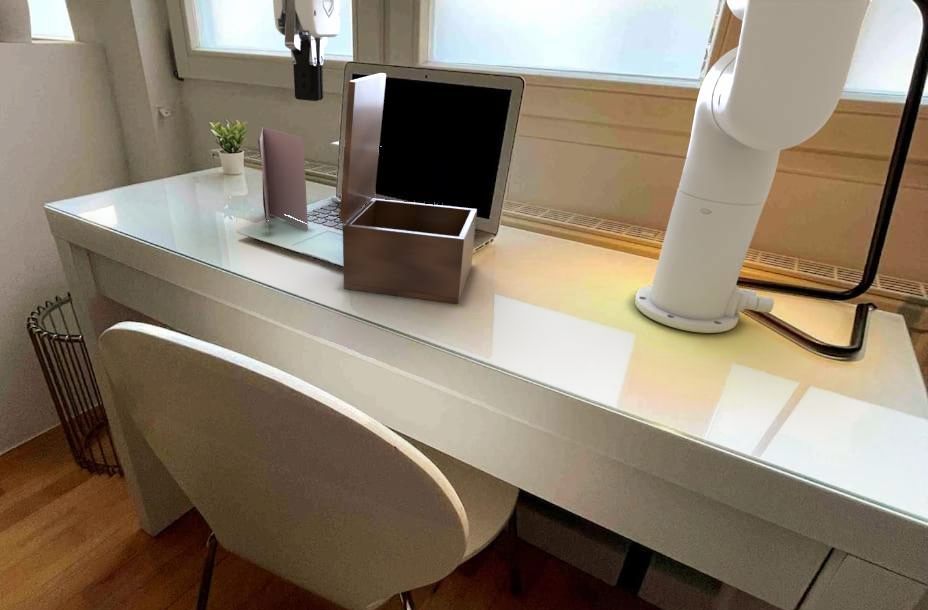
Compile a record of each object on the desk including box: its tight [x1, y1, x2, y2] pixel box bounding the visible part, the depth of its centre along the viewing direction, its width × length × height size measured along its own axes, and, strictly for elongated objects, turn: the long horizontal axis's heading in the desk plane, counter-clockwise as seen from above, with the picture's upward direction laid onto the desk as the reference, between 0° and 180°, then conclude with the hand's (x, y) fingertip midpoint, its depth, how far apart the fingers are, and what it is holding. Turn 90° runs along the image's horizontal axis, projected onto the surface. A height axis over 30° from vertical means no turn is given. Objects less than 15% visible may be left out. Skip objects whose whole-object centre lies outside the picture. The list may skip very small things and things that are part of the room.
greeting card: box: [257, 126, 309, 233], centre depth 95 cm, size 11×7×15 cm, turn 11°
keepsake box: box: [342, 197, 478, 305], centre depth 79 cm, size 16×14×9 cm
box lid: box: [339, 72, 387, 223], centre depth 73 cm, size 16×14×1 cm
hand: (309, 99), depth 72 cm, fingers closed
